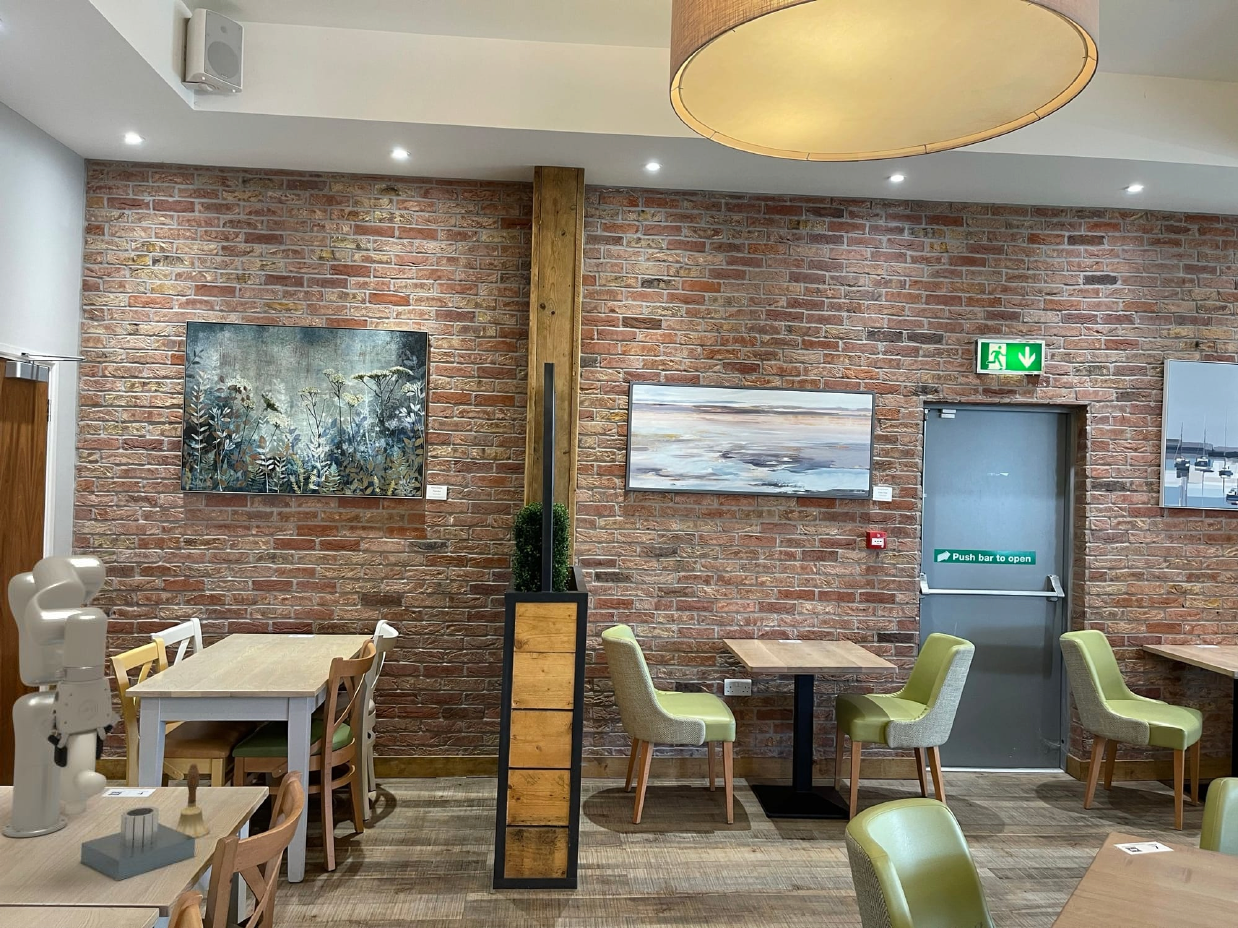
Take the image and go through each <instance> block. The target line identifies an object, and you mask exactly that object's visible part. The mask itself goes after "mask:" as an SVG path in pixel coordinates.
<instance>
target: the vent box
mask: <svg viewBox="0 0 1238 928" xmlns="http://www.w3.org/2000/svg"><path fill="white" fill-rule="evenodd" d="M120 818H121V819H120V832H116V833H112V834H109V835H106V836H102V837H98V838H94V839H92V840H91V839H90V840H87V841H85V842H81V847H80V848H81V851H80V863H81V862H82V864H83V863H84V865H85V866H87V865H88V867H89V866H90V868H91V869H93V868H94V870H95V871H97V870H98V872H99V871H100V872H99V873H101V872H102V873H101V874H103V873H104V875H105V876H107V877H109V876H110V877H109V878H112V879H113V878H114V880H115V879H117V880H118V882H119V880H120V881H123V880H125V878H126V879H129V878H132V877H134V876H135V877H136V876H138V875H142V874H145V873H148V872H151V871H154V870H157V869H160V868H163V867H167V866H169V865H173V864H177V863H178V862H182V861H185V860H188V859H191V858H195V850H196V849H195V848H196V847H195V846H196V838H194V837H192V836H189V835H187V834H184V833H182V832H179V831H177V830H174V829H175V828H172V827H169V826H167V825H165V824H162V823H160V822H159V807H156V806H138V807H134V808H133V807H132V808H129V809H126V810H125V811H122V812H121V817H120ZM131 876H132V877H131ZM122 879H123V880H122ZM117 880H116V881H117Z"/></svg>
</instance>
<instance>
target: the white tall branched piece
mask: <svg viewBox="0 0 1238 928" xmlns="http://www.w3.org/2000/svg"><path fill="white" fill-rule="evenodd" d="M96 740H97V730H96V729H92V730H87V731H81V732H76V733H70V734H69V736H68V738H67V740H66V743H65V747H67V763H66V766H65V767H61V777H60V795H59V799H60V800H61V802H65V812H64V813H65V814H66V815H78V814H82V813H85V812H86V811H87V800H89V799H90V798H92V797H93V796H96V795H100V794H101V793H102V792H103V791H104V790H105V788H106V786H107V778H106V776H105V775H103V774H101V773H99V772H95V771H96Z"/></svg>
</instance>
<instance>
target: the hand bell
mask: <svg viewBox="0 0 1238 928" xmlns="http://www.w3.org/2000/svg"><path fill="white" fill-rule="evenodd" d="M199 782H200V772H199V769H198V765H197V763H191V764H190V766H189V769H188V771H187V775H186V786H187V791H188V797H187V799H188V800H187V807H185V808H183V809H182V810H181V811H180V815H179V820H178V823H177V825H176V826H175V828H173V829H174V830H177V831H179V832H182V833H184V834H187V835H189V836H192V837H194V838H195V839H199V838H203V837H205V836H207V835H209V833H210V832H211V830H210V828H209V826H208V825H206V824H205V821H204V818H203V810H202V808H201V807H198V806H197V789H198V786H199Z"/></svg>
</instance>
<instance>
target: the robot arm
mask: <svg viewBox="0 0 1238 928" xmlns="http://www.w3.org/2000/svg"><path fill="white" fill-rule="evenodd" d="M106 576H107V571H106V566H105V563H104V562H103V560H102V559H101V558H100V557H98V556H96V555H91V554H83V555H82V554H79V555H77V554H76V555H73V554H71V555H70V554H69V555H65V554H64V555H51V556H46V557H44V558H42V559H40V560H38V562H37V563H36V564H34V567H33V568H32V571H28V572H21V573H19V574H16V575H14V576H13V577H12V578H11V579H10V580H9V583H8V587H7V595H8V598H7V599H8V603H9V604H8V605H9V608H10V612H11V614H12V616H13V618H14V621H15V623H16V626H17V629H18V646H19V648H18V651H19V655H18V657H19V659H18V661H19V662H18V663H19V664H18V665H19V676H20V677H19V678H20V680H21V682H22V683H23V684H24V685H25V686H28V687H47V686H48V687H49V686H55V685H56V688H55V689H53V690H52V689H51V690H42V691H35V692H30V693H27V694H24V695H22V696H20V697H19V698H18V699H17V700H16V701H15V702H14V704H13V707H12V721H13V729H14V730H13V731H14V741H15V743H14V745H15V747H14V768H13V769H14V770H13V773H14V774H13V788H12V789H13V790H12V791H13V792H12V808H11V821H10V822H8V823H7V824H5V825H4V826H3V828H2V833H3V835H4V836H6V837H10V838H30V837H38V836H44V835H47V834H51V833H54V832H57V831H59V830H62V829H63V828H65V827H66V826H67V825H68V817H67V816H65V815H62V814H61V802H62V801H61V800H60V799H59V795H60V777H61V767H65V766H66V763H67V747H65V743H66V740H67V738H68V736H69V734H70V733H76V732H81V731H87V730H92V729H96V730H97V740H96V759H95V761H96V760H101V759H102V754H103V751H104V740H105V739H106V738H107V735H108V734H110V732H111V731H112V730H113V728H114V727H115V726H116V724H118V723H119V722H120V721H121V717H120V716H119V715H118V713H116V712H115V711H114V710H113V709H112V706H113V705H112V693H111V692H112V691H111V685H110V680H109V677H106V676H105V668H106V667H105V666H106V649H107V647H106V646H107V631H108V625H109V622H108V615H107V614H105V612H104V611H103V609H101V608H99V607H94V606H93V607H91V606H90V607H88V606H87V607H80V606H81V605H85V604H88V603H90V602H91V601H92V600H93V599H94V597H96V596H97V594H98V593H99V592H100V591H101V590H102V588H103V587H104V584H105V581H106V578H107V577H106ZM55 732H56V733H55ZM53 733H55V734H53Z"/></svg>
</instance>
